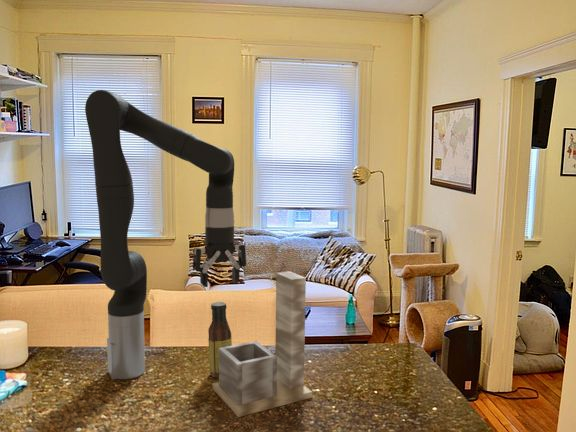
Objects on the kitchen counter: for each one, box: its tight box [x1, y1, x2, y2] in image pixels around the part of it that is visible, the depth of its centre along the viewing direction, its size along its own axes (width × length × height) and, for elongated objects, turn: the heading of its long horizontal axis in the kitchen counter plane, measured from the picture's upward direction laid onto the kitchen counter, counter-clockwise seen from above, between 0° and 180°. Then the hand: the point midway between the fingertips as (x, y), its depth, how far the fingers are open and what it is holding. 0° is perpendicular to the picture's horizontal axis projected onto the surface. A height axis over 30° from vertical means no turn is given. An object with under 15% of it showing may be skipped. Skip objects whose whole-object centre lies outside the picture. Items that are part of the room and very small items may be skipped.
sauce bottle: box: [207, 301, 233, 379], centre depth 136 cm, size 6×6×20 cm
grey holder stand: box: [212, 270, 313, 418], centre depth 125 cm, size 20×16×30 cm
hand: (220, 284), depth 134 cm, fingers open, 8 cm apart
